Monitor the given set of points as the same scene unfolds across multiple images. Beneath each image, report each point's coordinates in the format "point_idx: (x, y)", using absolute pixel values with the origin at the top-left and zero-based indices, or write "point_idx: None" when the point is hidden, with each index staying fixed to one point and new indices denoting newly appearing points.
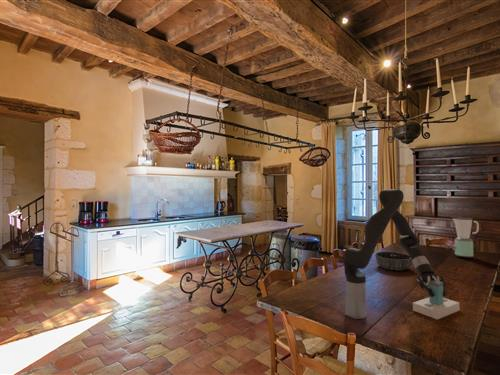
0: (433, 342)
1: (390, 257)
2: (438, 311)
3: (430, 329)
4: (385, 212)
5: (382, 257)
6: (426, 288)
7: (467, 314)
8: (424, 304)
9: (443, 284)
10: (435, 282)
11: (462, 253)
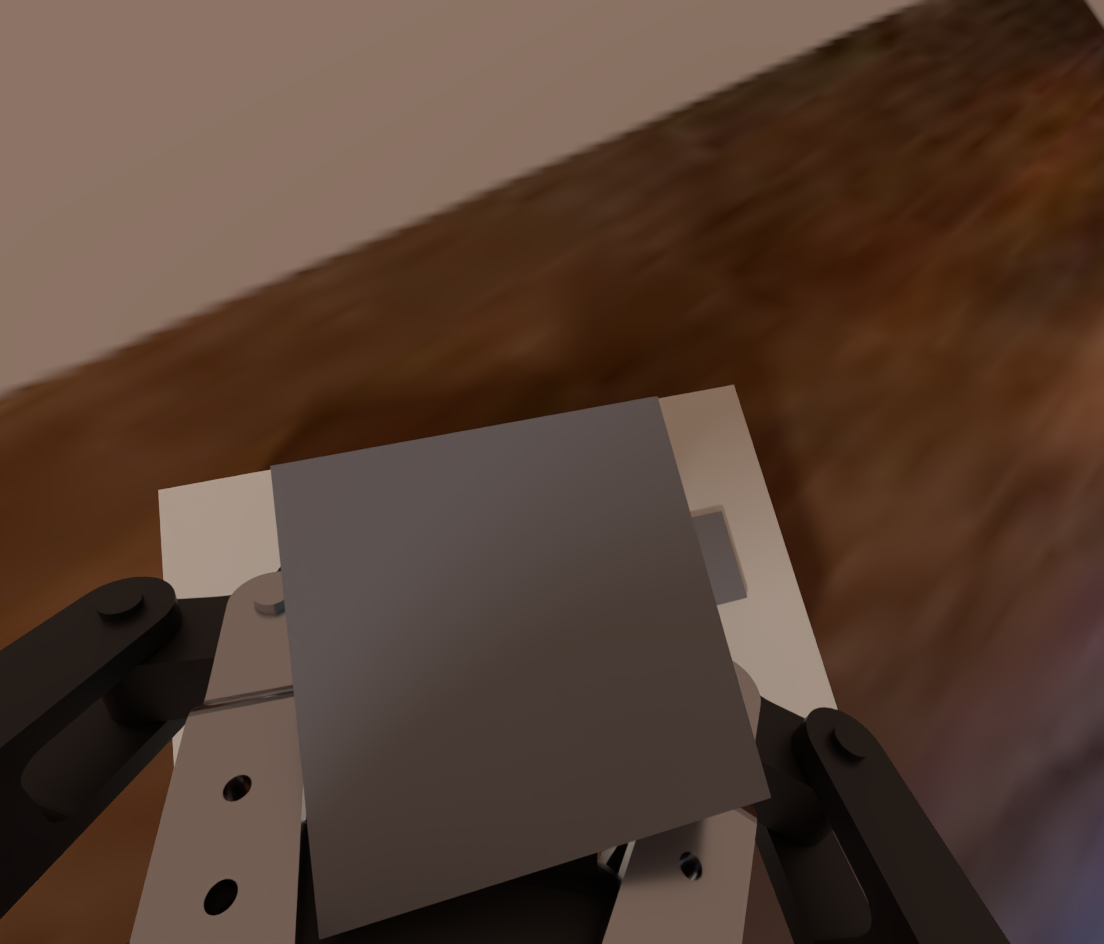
0: (1006, 172)
1: None
2: (701, 393)
3: (898, 304)
4: None
5: None
6: (764, 708)
7: (262, 400)
8: (739, 595)
9: (125, 640)
10: (615, 568)
11: None
